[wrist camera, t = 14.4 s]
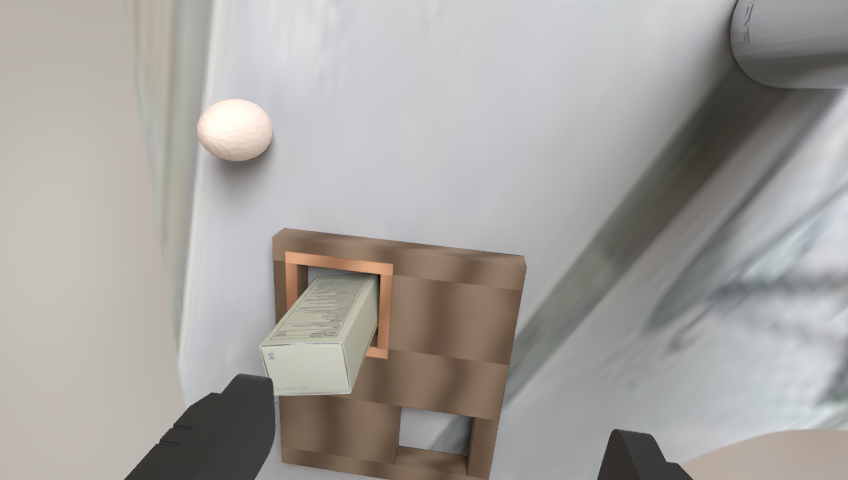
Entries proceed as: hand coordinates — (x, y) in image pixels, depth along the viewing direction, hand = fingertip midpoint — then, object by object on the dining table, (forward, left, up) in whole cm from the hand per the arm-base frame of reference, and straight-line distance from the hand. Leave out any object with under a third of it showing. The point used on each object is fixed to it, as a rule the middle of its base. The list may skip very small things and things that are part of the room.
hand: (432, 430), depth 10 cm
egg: (+18, -3, -28) cm, 34 cm away
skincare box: (+10, +12, -28) cm, 32 cm away
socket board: (+5, +19, -28) cm, 34 cm away
